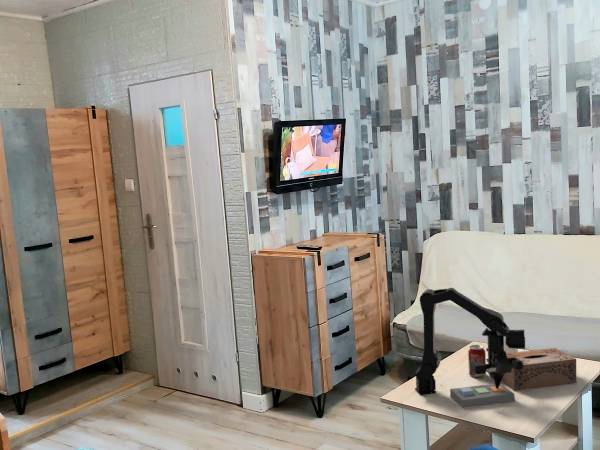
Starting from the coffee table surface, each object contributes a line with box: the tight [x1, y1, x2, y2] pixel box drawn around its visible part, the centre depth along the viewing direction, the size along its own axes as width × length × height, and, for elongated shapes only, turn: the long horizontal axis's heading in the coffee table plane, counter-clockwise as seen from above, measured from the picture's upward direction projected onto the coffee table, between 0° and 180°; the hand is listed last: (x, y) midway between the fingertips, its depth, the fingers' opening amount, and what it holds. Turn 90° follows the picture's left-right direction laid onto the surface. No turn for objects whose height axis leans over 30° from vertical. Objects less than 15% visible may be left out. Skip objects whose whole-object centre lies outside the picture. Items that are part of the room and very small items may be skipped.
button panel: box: [449, 382, 516, 409], centre depth 223 cm, size 20×11×3 cm, turn 99°
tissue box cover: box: [501, 347, 577, 392], centre depth 238 cm, size 26×14×10 cm, turn 99°
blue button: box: [458, 386, 474, 396], centre depth 222 cm, size 4×4×3 cm
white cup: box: [504, 337, 519, 353], centre depth 267 cm, size 8×8×10 cm
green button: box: [474, 388, 489, 394], centre depth 223 cm, size 4×4×3 cm
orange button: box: [489, 386, 505, 392], centre depth 224 cm, size 4×4×3 cm
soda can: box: [467, 344, 487, 378], centre depth 247 cm, size 7×7×12 cm
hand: (496, 388), depth 224 cm, fingers closed
